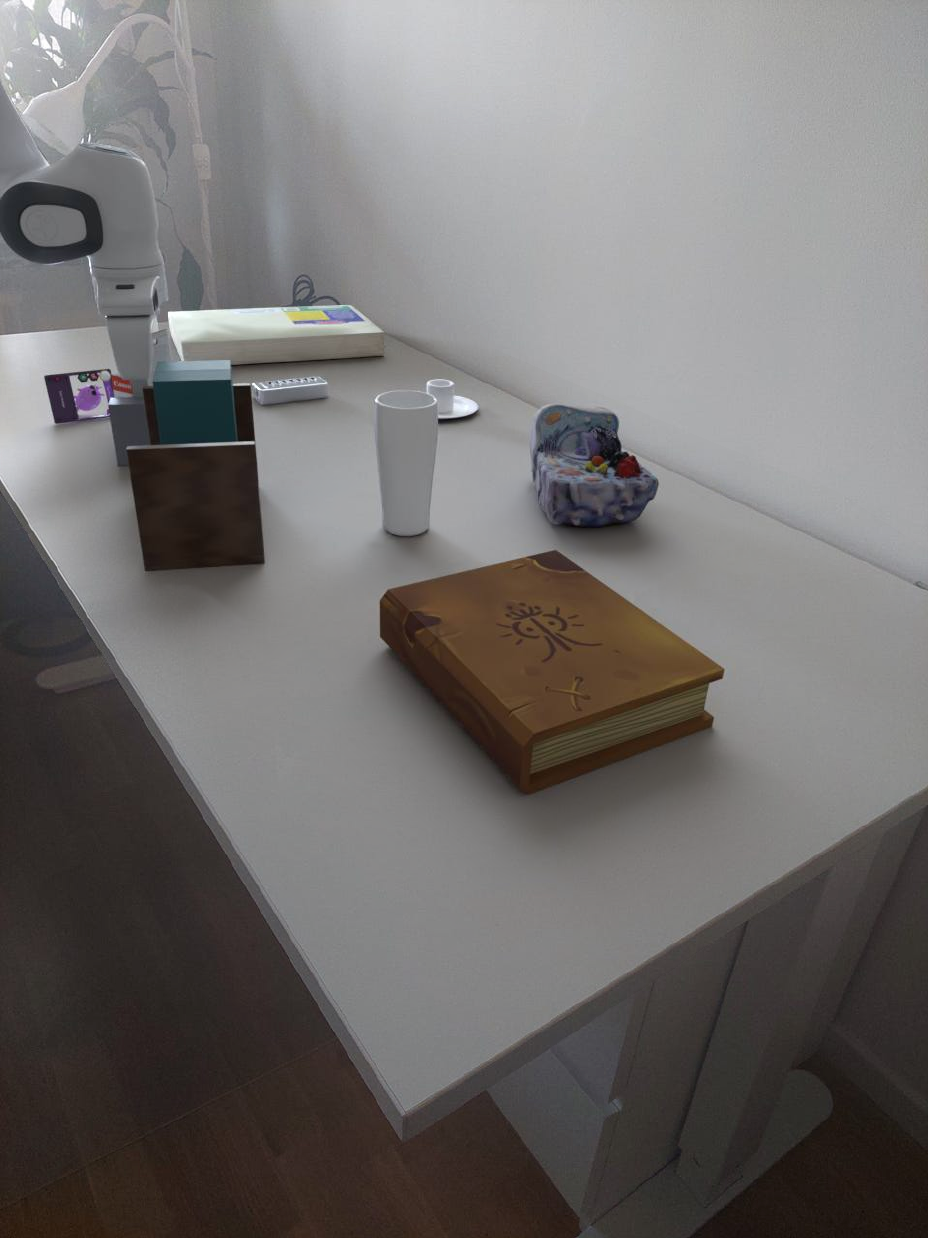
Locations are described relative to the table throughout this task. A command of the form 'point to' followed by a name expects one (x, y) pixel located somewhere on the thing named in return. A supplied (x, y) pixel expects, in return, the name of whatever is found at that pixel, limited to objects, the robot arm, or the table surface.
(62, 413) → the purple monster box
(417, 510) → the drinking glass
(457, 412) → the candle holder
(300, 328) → the puzzle box
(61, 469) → the table surface
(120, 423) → the grey u-shaped block
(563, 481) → the cell model
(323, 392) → the multiport hub
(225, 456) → the book rack
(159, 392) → the teal tall block
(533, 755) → the diary
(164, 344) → the ink box
